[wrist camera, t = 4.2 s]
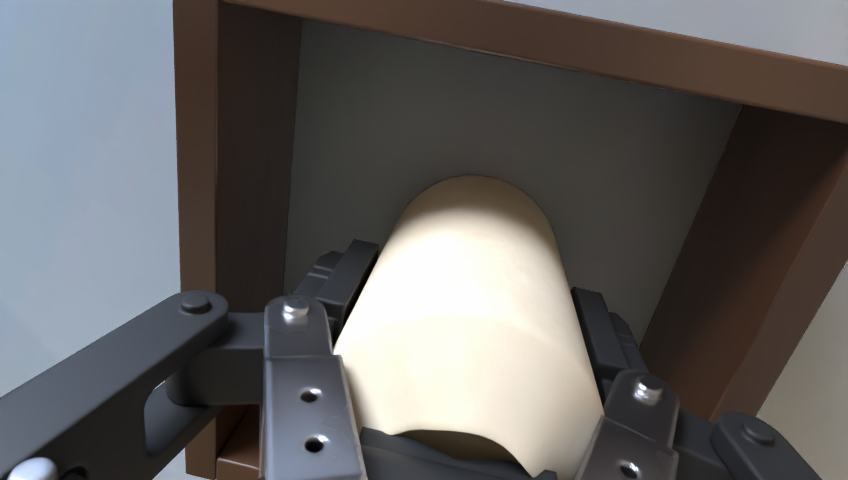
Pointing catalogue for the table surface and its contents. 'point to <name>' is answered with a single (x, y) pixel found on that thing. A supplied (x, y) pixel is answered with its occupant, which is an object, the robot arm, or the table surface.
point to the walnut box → (556, 47)
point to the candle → (473, 333)
